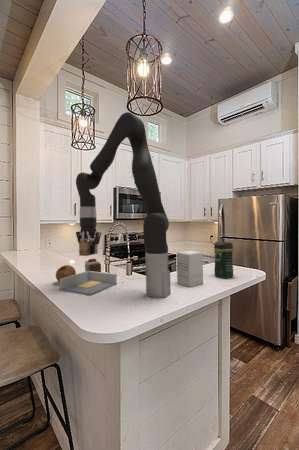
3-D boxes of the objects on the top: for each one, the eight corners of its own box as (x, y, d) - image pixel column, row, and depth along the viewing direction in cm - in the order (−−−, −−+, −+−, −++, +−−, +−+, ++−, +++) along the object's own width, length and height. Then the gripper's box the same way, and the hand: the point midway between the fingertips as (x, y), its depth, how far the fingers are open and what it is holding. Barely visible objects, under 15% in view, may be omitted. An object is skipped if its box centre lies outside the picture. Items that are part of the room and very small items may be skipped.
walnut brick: (86, 256, 104) (85, 242, 104) (79, 255, 106) (79, 242, 106) (97, 253, 111) (97, 241, 111) (91, 253, 113) (91, 240, 113)
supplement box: (190, 280, 117) (190, 250, 117) (203, 284, 110) (203, 252, 109) (176, 283, 112) (176, 251, 112) (189, 287, 105) (188, 254, 104)
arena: (116, 284, 111) (116, 274, 111) (90, 295, 95) (90, 283, 95) (88, 280, 120) (87, 270, 120) (59, 290, 104) (59, 278, 104)
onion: (64, 291, 112) (60, 274, 107) (54, 283, 118) (49, 267, 113) (81, 280, 119) (77, 264, 114) (70, 273, 124) (66, 257, 119)
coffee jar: (236, 277, 120) (235, 241, 119) (223, 279, 117) (222, 242, 117) (224, 273, 129) (223, 240, 129) (211, 275, 126) (211, 241, 126)
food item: (83, 274, 134) (83, 257, 133) (97, 272, 137) (97, 256, 137) (88, 279, 121) (88, 260, 121) (103, 277, 125) (103, 259, 125)
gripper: (70, 217, 108) (71, 253, 109) (94, 216, 102) (95, 255, 102) (82, 217, 115) (82, 251, 115) (105, 216, 108) (106, 253, 109)
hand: (88, 253), depth 109 cm, fingers closed on walnut brick, 4 cm apart
